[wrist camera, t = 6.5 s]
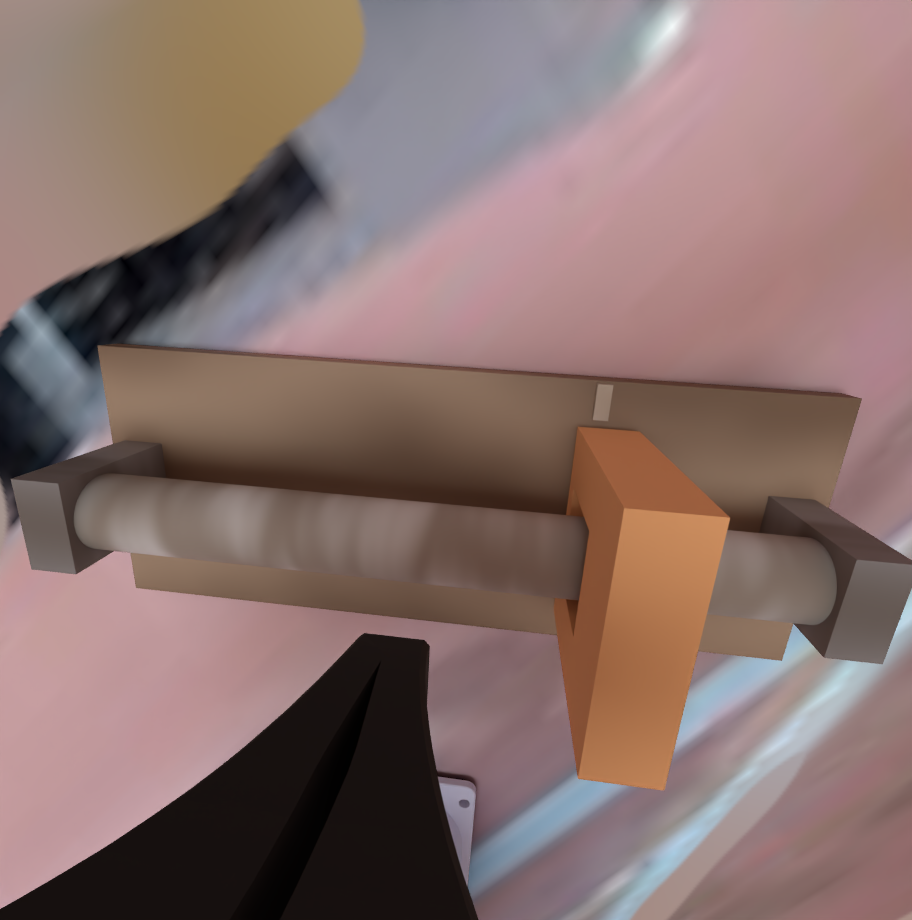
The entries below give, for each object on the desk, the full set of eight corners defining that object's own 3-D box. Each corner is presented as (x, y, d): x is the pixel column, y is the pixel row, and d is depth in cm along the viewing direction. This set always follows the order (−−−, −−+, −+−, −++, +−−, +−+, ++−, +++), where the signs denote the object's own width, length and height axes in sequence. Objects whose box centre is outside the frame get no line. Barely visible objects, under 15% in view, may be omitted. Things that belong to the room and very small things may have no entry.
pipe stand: (768, 643, 20) (862, 765, 14) (152, 575, 22) (39, 660, 16) (841, 393, 17) (994, 433, 11) (118, 343, 19) (-34, 357, 13)
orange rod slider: (607, 614, 18) (663, 790, 12) (553, 608, 18) (577, 778, 12) (639, 431, 16) (729, 517, 9) (577, 426, 16) (624, 508, 10)
